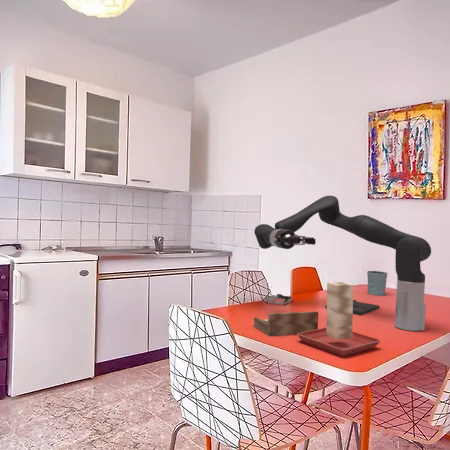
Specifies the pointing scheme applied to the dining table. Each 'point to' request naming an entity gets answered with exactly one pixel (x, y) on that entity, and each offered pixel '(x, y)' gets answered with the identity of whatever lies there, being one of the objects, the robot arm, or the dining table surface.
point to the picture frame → (362, 307)
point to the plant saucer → (338, 342)
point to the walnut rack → (288, 323)
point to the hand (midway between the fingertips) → (304, 241)
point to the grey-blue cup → (376, 282)
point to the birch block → (339, 310)
